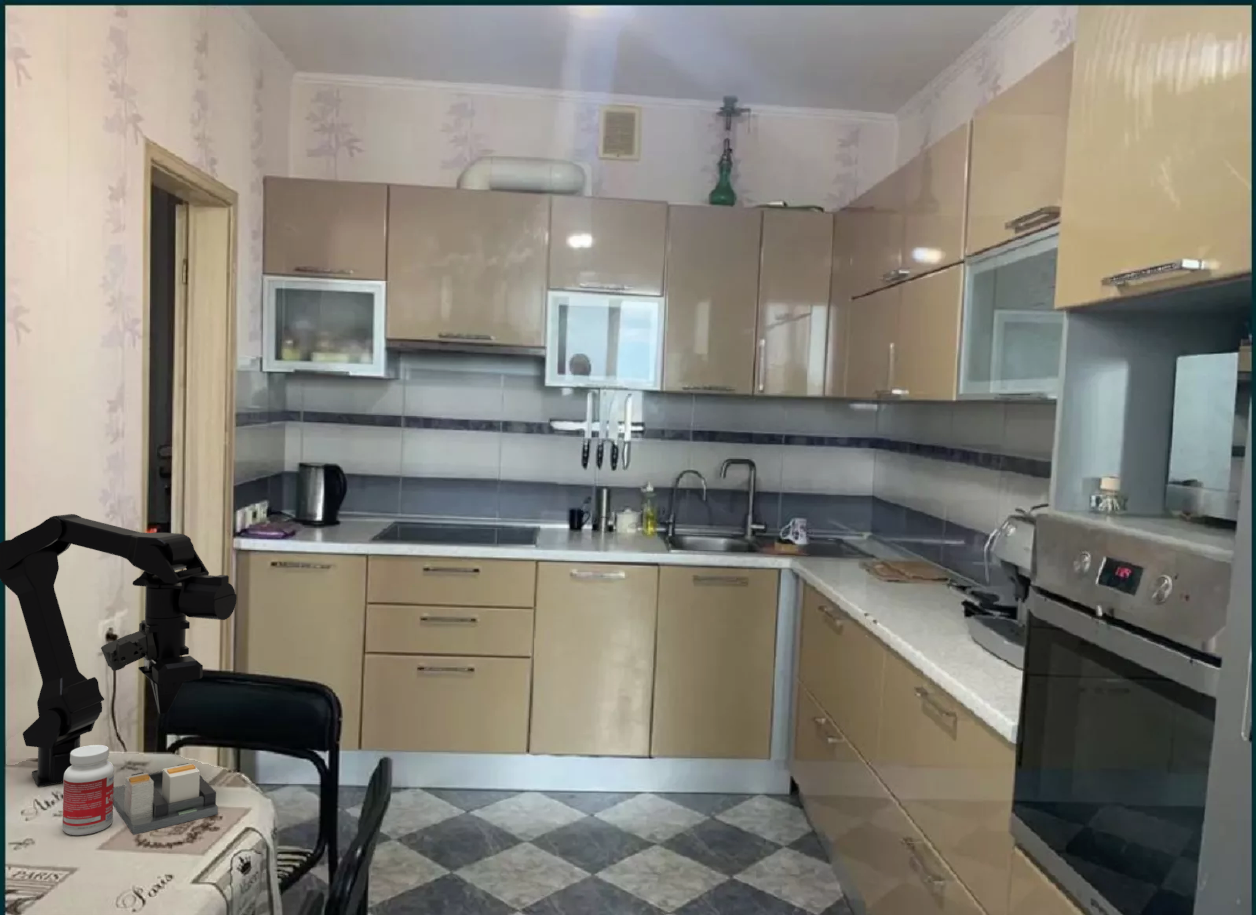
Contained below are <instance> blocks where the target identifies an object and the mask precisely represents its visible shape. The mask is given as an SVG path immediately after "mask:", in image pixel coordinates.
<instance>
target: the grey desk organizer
mask: <svg viewBox="0 0 1256 915" xmlns="http://www.w3.org/2000/svg"><path fill="white" fill-rule="evenodd" d="M185 764H189V763H188V762H187V763H181V764H178V765H177V766H180V765H185ZM162 783H163V770H161V771H160V770H159V771H156V772H151V773H147V772H145V773H144V772H137V773H133V774H131V775H130V776H125V777H124V784H123V785H118V786H114V791H113V808H114V809H116V811H117V813H118V814H119V815H120V817H121V818H122V820H123V821H124V823H125V824H126V826H127V827H128V829H129V830H130V832H131V833H132V835H138V834H143V833H145V832H150V831H154V830H158V829H163V828H166V827H171V826H176V825H178V824H184V823H187V822H192V821H196V820H199V819H204V818H208V817H212V816H217V815H218V813H219V812H218V811H219V806H218V805H217V804H216V802H217V792H216V791H215V789H214V788H213V787H212V786H211V785H210V784H209V783H208V782H207V781H206V780H205V779H204V778H203V777H202V776H201V775H200V780H199V797H195V798H191V799H187V800H182V801H178V802H174V803H169V804H168V803H167V801H166V800H165V799H164V798H163V796H162Z"/></svg>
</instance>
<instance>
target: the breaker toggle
mask: <svg viewBox="0 0 1256 915" xmlns="http://www.w3.org/2000/svg"><path fill="white" fill-rule="evenodd" d="M184 764H185V765H181V764H179V765H180V766H178V765H175V766H171V767H165V768H162V771H163V783H162V796H163V798H164V799H165V800H166V801H167V803H168V804H169V803H174V802H178V801H182V800H187V799H191V798H195V797H199V780H200V776H201V773H200V772H201V771H200V770H199V769H198V768H197V767H196V765H195V764H193V762H191V763H189V764H186V763H184Z"/></svg>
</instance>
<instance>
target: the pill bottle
mask: <svg viewBox="0 0 1256 915" xmlns="http://www.w3.org/2000/svg"><path fill="white" fill-rule="evenodd" d="M109 750H110V749H109V747H108V746H107V745H103V744H89V745H84V746H80V747H79V748H76V749H74V750H72V751H71V753H70V763H71V764H72V765H71V766H70V767H68V768H67V770H66V771H65V773H64V778H63V782H62V783H63V785H62V788H63V791H62V792H63V794H62V820H61V822H62V825H61V827H62V830H63V832H64V833H66V834H68V835H69V836H70V835H71V836H84V835H91V834H95V833H98V832H102V831H103V830H106V829H107V828H108V827H109V826H110V825H111V824H112V822H113V819H114V805H113V791H114V787H115V786H114V785H115V779H114V778H115V766H114V765H113V763H112V762H111V761H109V760H108V759H109V754H110V752H109Z"/></svg>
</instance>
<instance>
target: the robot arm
mask: <svg viewBox="0 0 1256 915" xmlns="http://www.w3.org/2000/svg"><path fill="white" fill-rule="evenodd" d="M71 545H75V546H79V547H82V548H85V549H90V550H94V551H99V552H101V553H106V554H110V555H113V556H117V557H120V558H122V559H125V560H127V561H128V562H129V563H130V564H131V565H132V567H135V568H137V569H139V570H142V571H143V572H142V574H141V575H140V576H139V577H137V578H135V580H133V581H132V585H133V586H136V587H145V606H144V607H145V608H144V611H145V612H144V613H145V614H144V620H141V621H140V622H139V627H138V631H136V632H135V631H134V632H133V633H130V634H126V635H124V636H122V637H120V638H117V639H115V640H113V641H110V642H107V643H105V644H104V645H102V646H101V648H100V649H101V652H102V654H103V656H104V660H105V661H106V663H107V666H108V667H109V668H111V670H112V671H114V672H115V671H116V672H117V671H119V670H122V669H124V668H125V667H126V666H127V665H130V664H132V663H135V662H137V661H139V660H141V659H143V666H139V667H138V670H139V671H140V673H142V674H143V675H144V676H146V677H147V679H149V680H150V683H151V687H152V692H153V696H154V699H155V703H156V708H157V711H158V714H159V715H165V714H168V713H169V711H170V709H171V707H172V705H173V704H174V701H175V700H176V697H177V695H178V694H179V691H180V690H181V688H182V687H183V685H184V683H185V682H188V681H194V680H200V679H202V678H203V675H204V674H203V672H204V671H203V669H204V666H203V664H202V663H201V662H199V660H197V659H195V658H194V657H193V656H191V655H189V654H190V653H189V652H190V647H188V646H186V632H187V630H188V629H189V630H190V629H191V628H190V627H191V625H190V621H189V620H187V617H188V618H195V619H206V620H207V619H209V620H220V621H225V620H228V619H229V618H230V617H231V616H232V614H233V612H234V611H235V608H236V604H237V598H238V597H237V594H236V591H235V588H234V586H233V585H232V584H231V583H230V582H229V580H230V579H229V578H230V576H229V575H226V574H219V575H210V572H209V571H208V569H207V567H206V566H205V564H204V563H203V561H202V560H201V558H200V556H199V555H198V553H197V551H196V550H195V546H194V544H193V542H192V539H191V537H189V536H188V535H186V534H184V533H177V532H175V533H174V532H142V531H141V532H140V531H136V530H132V529H128V528H123V527H120V526H117V525H112V524H110V523H106V522H100V521H96V520H93V519H89V518H85V517H82V516H80V515H77V514H75V513H68V514H57V515H52V516H50V517H49V518H47V519H45V520H43V521H42V522H41V523H40V524H38V525H36V526H34V527H32V528H29V529H28V530H26V531H24V532H22V533H20V534H18V535H16V536H14V537H13V538H12V539H6V540H2V541H1V542H0V581H1V583H2V584H3V585H5V587H7V589H9V590H10V591H11V592H12V593H13V594H14V595H16V597H17V598H18V603H19V605H20V608H21V612H22V616H23V619H24V622H25V626H26V628H27V633H28V637H29V640H30V643H31V647H32V651H33V654H34V657H35V661H36V664H37V667H38V671H39V674H40V677H41V680H42V684H41V687H40V691H39V694H38V698H37V702H36V705H37V712H38V718H36V720H34V722H32V723H31V725H30V726H28V727H27V728H26V729H25V730H24V731H23V732H22V737H23V741H24V744H25V746H26V747H33V748H37V769H36V770H32V771H31V776H32V777H33V778H32V779H34V782H35V783H36V786H37V787H46V786H50V785H54V784H55V785H56V784H60V783H63V778H64V773H65V771H66V770H67V768H68V767H70V766H71V765H72V764H71V763H70V753H71V751H72V750H74V749H76V748H79V747H81V736H82V735H84V734H87V733H90V732H92V731H93V729H94V726H95V723H96V721H97V720H98V719H99V717H100V715H101V714H102V712H103V703H102V702H103V701H104V700H105V698H104V697H103V695H102V694H101V691H100V686H99V680H98V679H97V677H95V676H93V677H90V678H87V677H86V676H85V675H84V674H82V673H81V672H80V670H79V668H78V665H77V662H76V659H75V655H74V652H73V648H72V645H71V641H70V637H69V634H68V632H67V628H66V625H65V621H64V618H63V614H62V611H61V607H60V605H59V600H58V597H57V593H56V590H55V582H56V579H57V576H58V574H59V570H60V565H59V559H58V557H59V556H60V555H62V554H63V553H65V552H66V551H67V550H69V548H70V547H71Z"/></svg>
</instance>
